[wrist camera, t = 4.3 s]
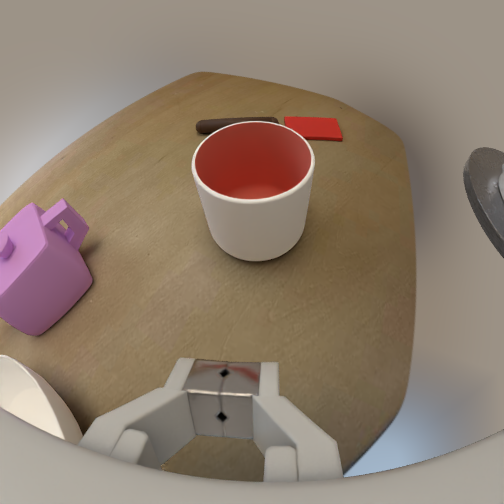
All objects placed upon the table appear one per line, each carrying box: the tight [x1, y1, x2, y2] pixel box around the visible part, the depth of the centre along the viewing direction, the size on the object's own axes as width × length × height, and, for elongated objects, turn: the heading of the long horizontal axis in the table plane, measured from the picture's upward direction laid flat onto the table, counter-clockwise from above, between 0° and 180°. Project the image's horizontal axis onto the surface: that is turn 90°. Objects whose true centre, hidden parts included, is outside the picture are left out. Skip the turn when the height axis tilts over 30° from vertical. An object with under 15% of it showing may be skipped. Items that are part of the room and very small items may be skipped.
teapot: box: [0, 199, 93, 335], centre depth 24 cm, size 18×10×10 cm, turn 134°
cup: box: [192, 121, 315, 261], centre depth 27 cm, size 10×10×10 cm
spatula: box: [196, 117, 343, 141], centre depth 38 cm, size 21×5×2 cm, turn 89°
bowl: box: [0, 355, 83, 445], centre depth 16 cm, size 18×18×7 cm
